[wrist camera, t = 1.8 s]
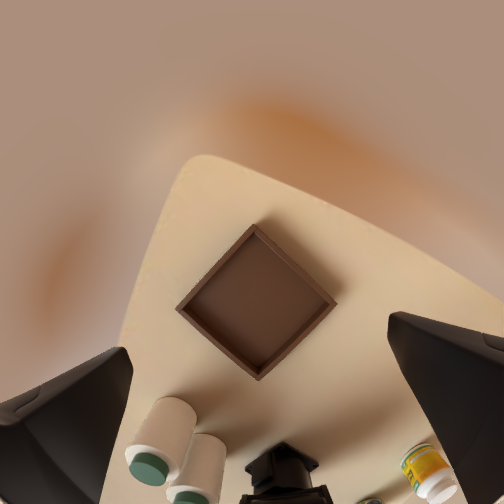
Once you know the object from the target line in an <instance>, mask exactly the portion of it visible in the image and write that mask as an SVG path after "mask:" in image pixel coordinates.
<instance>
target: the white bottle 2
mask: <svg viewBox="0 0 504 504" xmlns="http://www.w3.org/2000/svg"><path fill="white" fill-rule="evenodd" d="M226 452H227V450H226V447H225V445H224V443H223V442H222V441H221V440H219V439H218V438H216V437H214V436H212V435H208V434H193V435H192V437H191V441H190V444H189V447H188V450H187V453H186V456H185V459H184V462H183V465H182V468H181V471H180V474H179V476H178V477H177V478H176V479H175V480H173V481H170V483H169V486H168V488H167V491H166V496H167V498H168V500H169V501H170V502H171V503H172V504H219V500H220V493H221V487H222V480H223V473H224V466H225V459H226Z"/></svg>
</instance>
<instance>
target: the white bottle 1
mask: <svg viewBox="0 0 504 504" xmlns="http://www.w3.org/2000/svg"><path fill="white" fill-rule="evenodd" d="M196 422H197V416H196V413H195V411H194V410H193V408H192V407H191V406H190V405H189V404H188V403H186V402H185V401H183V400H181V399H178V398H174V397H164V398H161V399H159V400H157V401H156V402H155V404H154V405H153V407H152V409H151V410H150V412H149V413H148V415H147V417H146V418H145V420H144V422H143V423H142V425H141V426H140V428H139V430H138V431H137V433H136V434H135V436H134V438H133V439H132V441H131V443H130V444H129V446H128V447H127V449H126V451H125V458H126V461H127V463H128V464H129V470H130V472H131V474H132V475H133V476H134V477H135V478H136V479H137V480H139V481H140V482H142V483H144V484H147V485H151V486H160V485H163V484H164V483H165V482H170V481H173V480H175V479H176V478H177V477H178V476H179V474H180V471H181V468H182V465H183V462H184V459H185V456H186V453H187V450H188V447H189V444H190V441H191V437H192V434H193V431H194V428H195V425H196Z"/></svg>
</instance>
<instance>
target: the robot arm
mask: <svg viewBox="0 0 504 504" xmlns="http://www.w3.org/2000/svg"><path fill="white" fill-rule="evenodd" d="M387 338H388V342H389V344H390V346H391V348H392V351H393V353H394V355H395V357H396V360H397V362H398V364H399V367H400V369H401V371H402V373H403V375H404V377H405V379H406V381H407V382H408V384H409V386H410V388H411V389H412V391H413V393H414V395H415V397H416V398H417V400H418V402H419V404H420V406H421V407H422V409H423V411H424V413H425V415H426V417H427V418H428V420H429V422H430V424H431V426H432V428H433V430H434V432H435V434H436V436H437V438H438V440H439V442H440V444H441V446H442V448H443V450H444V452H445V454H446V456H447V458H448V460H449V462H450V464H451V466H452V468H453V469H454V473H455V475H456V477H457V479H458V481H459V484H460V486H461V488H462V491H463V493H464V495H465V498H466V500H467V502H468V504H498V503H499V502H501V501H502V500H503V499H504V338H502V337H498V336H494V335H490V334H486V333H482V334H481V332H478V331H474V330H470V329H466V328H462V327H458V326H454V325H451V324H447V323H443V322H439V321H435V320H432V319H428V318H424V317H421V316H417V315H413V314H409V313H406V312H402V311H399V312H395V313H391V314H390V316H389V321H388V333H387ZM132 376H133V366H132V363H131V361H130V358H129V355H128V353H127V350H126V349H125V348H124V347H113V348H111V349H109V350H107V351H105V352H103V353H101V354H100V355H98V356H96V357H94V358H92V359H90V360H88V361H86V362H84V363H83V364H80V365H79V366H77V367H75V368H73V369H71V370H69V371H67V372H65V373H63V374H61V375H59V376H57V377H55V378H53V379H52V380H50V381H48V382H45V383H44V384H42V385H39V386H38V387H36V388H34V389H32V390H29V391H27V392H25V393H23V394H21V395H19V396H16V397H14V398H12V399H10V400H7V401H5V402H2V403H0V504H99V501H100V497H101V493H102V489H103V485H104V481H105V477H106V473H107V469H108V466H109V462H110V458H111V455H112V451H113V448H114V444H115V441H116V438H117V434H118V431H119V428H120V424H121V421H122V418H123V415H124V412H125V408H126V404H127V400H128V395H129V390H130V385H131V381H132ZM282 446H284V447H282ZM318 466H319V463H318V462H317V461H315V460H314V459H312V458H310V457H308V456H307V455H305V454H303V453H301V452H300V451H298V450H296V449H295V448H293V447H291V446H290V445H288V444H287V443H280V444H278V445H277V446H276V447H274V448H273V449H271V450H270V451H268V452H266V453H265V454H263V455H262V456H260V457H259V458H257V459H256V460H254V461H253V462H252V463H250V464H249V465H247V466H246V467H245V471H246V472H247V473H249V474H251V475H252V483H251V484H252V486H253V487H254V495H248V494H244V495H242V499H241V500H240V503H239V504H333V501H332V499H331V496H330V494H329V491H328V489H327V486H326V485H321V486H319V487H314V488H313V486H312V482H311V477H310V472H311V471H313V470H314V469H316V468H317V467H318Z"/></svg>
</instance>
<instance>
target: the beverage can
mask: <svg viewBox="0 0 504 504" xmlns="http://www.w3.org/2000/svg"><path fill="white" fill-rule="evenodd" d="M359 504H384V503H383V501H382V500H381V499H377V498H375V499H369V500H365V501H362V502H360V503H359Z"/></svg>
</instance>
